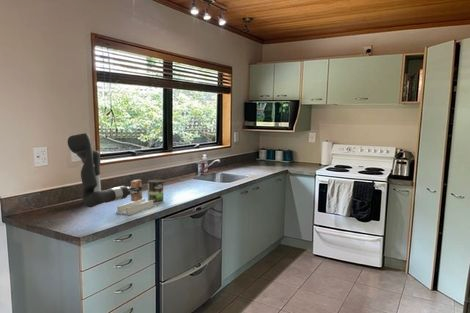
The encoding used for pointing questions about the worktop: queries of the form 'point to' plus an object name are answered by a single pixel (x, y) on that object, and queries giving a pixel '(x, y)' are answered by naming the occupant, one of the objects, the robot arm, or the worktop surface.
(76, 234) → the worktop surface
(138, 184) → the wooden card
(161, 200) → the coffee can
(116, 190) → the robot arm
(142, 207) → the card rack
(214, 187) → the worktop surface
